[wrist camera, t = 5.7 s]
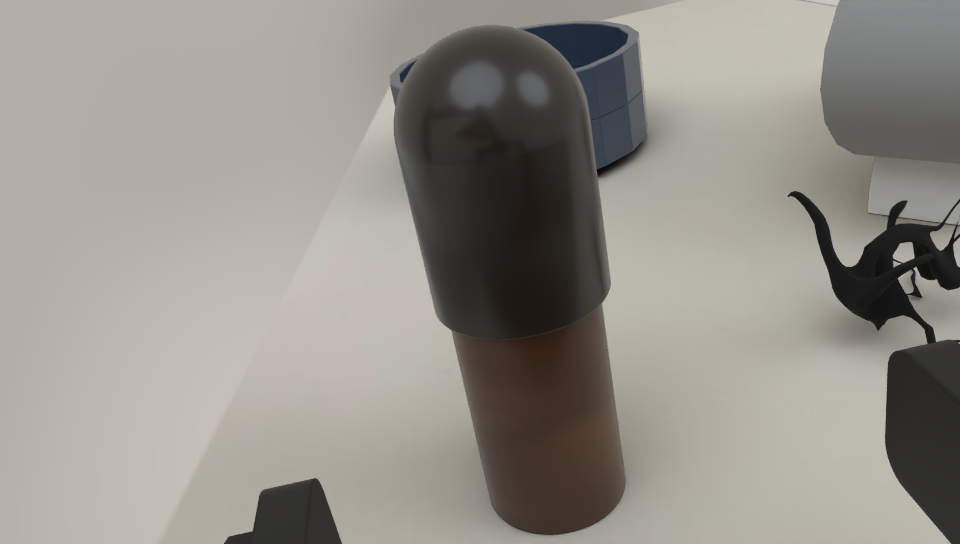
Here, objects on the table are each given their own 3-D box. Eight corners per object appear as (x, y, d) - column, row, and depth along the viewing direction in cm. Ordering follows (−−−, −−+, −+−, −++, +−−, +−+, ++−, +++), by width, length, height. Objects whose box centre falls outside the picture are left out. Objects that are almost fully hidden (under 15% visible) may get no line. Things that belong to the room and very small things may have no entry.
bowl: (417, 222, 44) (392, 112, 42) (408, 142, 57) (387, 54, 54) (681, 166, 45) (672, 53, 42) (613, 99, 57) (603, 9, 55)
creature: (927, 272, 33) (753, 293, 31) (961, 138, 31) (778, 149, 29) (1119, 368, 26) (915, 403, 24) (1180, 204, 24) (963, 225, 22)
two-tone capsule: (490, 558, 23) (373, 72, 17) (471, 452, 27) (373, 31, 21) (656, 521, 23) (598, 25, 17) (613, 420, 27) (554, -7, 21)
